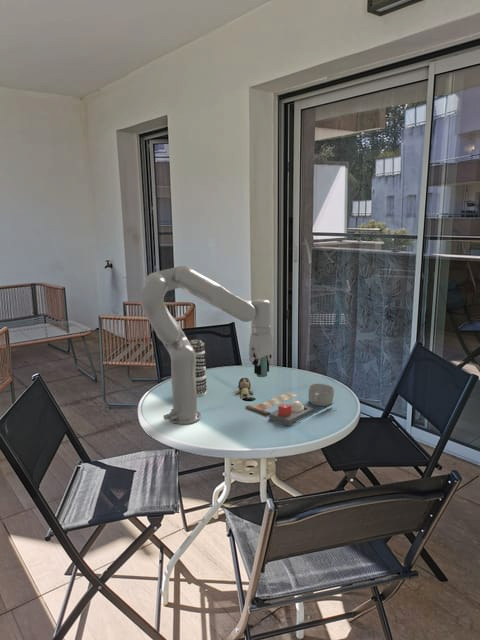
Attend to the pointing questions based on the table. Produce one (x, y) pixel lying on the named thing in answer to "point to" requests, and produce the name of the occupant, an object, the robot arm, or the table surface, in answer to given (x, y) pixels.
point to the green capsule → (263, 367)
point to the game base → (289, 414)
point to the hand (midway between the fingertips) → (261, 372)
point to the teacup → (321, 394)
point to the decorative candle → (199, 367)
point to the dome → (296, 407)
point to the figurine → (244, 387)
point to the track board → (270, 403)
